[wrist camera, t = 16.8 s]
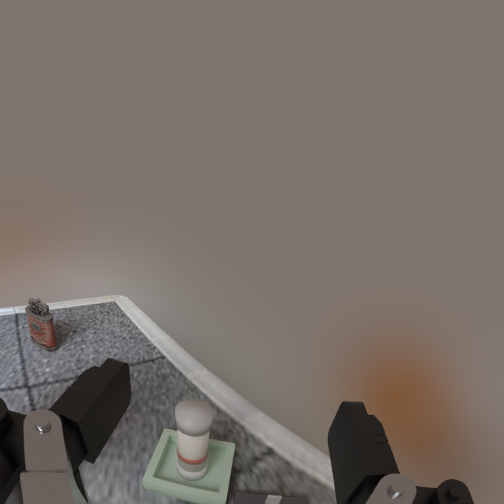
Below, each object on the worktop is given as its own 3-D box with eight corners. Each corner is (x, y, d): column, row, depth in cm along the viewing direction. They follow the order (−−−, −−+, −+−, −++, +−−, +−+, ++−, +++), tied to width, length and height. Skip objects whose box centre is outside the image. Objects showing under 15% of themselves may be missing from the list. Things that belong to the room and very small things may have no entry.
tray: (144, 489, 25) (142, 480, 25) (165, 438, 35) (164, 428, 34) (224, 508, 25) (226, 500, 24) (233, 453, 35) (235, 443, 34)
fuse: (173, 476, 28) (170, 419, 25) (180, 455, 32) (180, 395, 29) (204, 484, 28) (209, 428, 25) (209, 462, 32) (216, 403, 29)
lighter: (27, 340, 47) (20, 297, 44) (38, 334, 50) (31, 292, 48) (50, 354, 46) (43, 309, 43) (61, 347, 49) (54, 303, 46)
